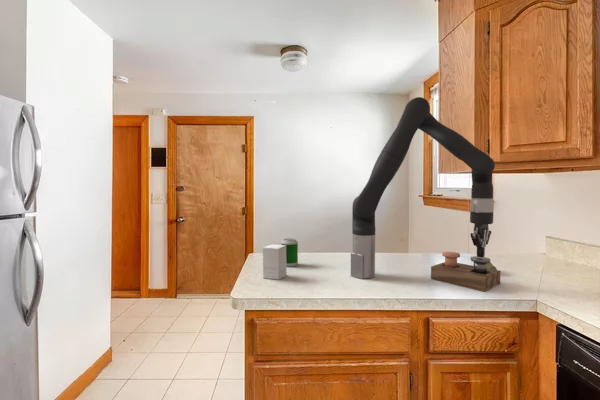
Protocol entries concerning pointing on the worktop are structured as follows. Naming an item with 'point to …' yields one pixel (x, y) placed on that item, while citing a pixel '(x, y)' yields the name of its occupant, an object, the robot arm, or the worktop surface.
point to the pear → (491, 266)
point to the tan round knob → (451, 259)
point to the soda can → (291, 251)
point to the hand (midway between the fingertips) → (480, 256)
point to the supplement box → (274, 261)
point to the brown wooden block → (466, 276)
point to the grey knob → (480, 264)
